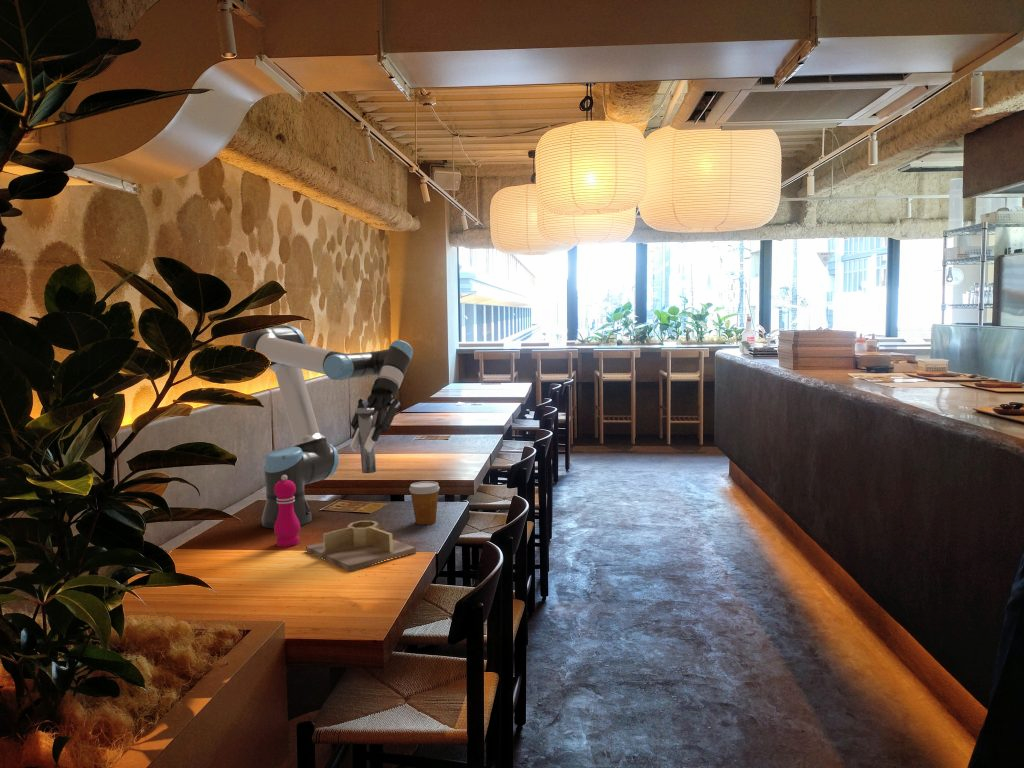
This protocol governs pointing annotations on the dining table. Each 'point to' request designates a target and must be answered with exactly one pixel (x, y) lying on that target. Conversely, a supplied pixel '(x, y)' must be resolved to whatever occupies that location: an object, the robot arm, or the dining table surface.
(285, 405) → the robot arm
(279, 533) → the pepper mill
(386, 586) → the dining table surface
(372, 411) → the pin
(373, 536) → the beige ribbed socket
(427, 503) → the disposable coffee cup
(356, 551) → the mounting board
